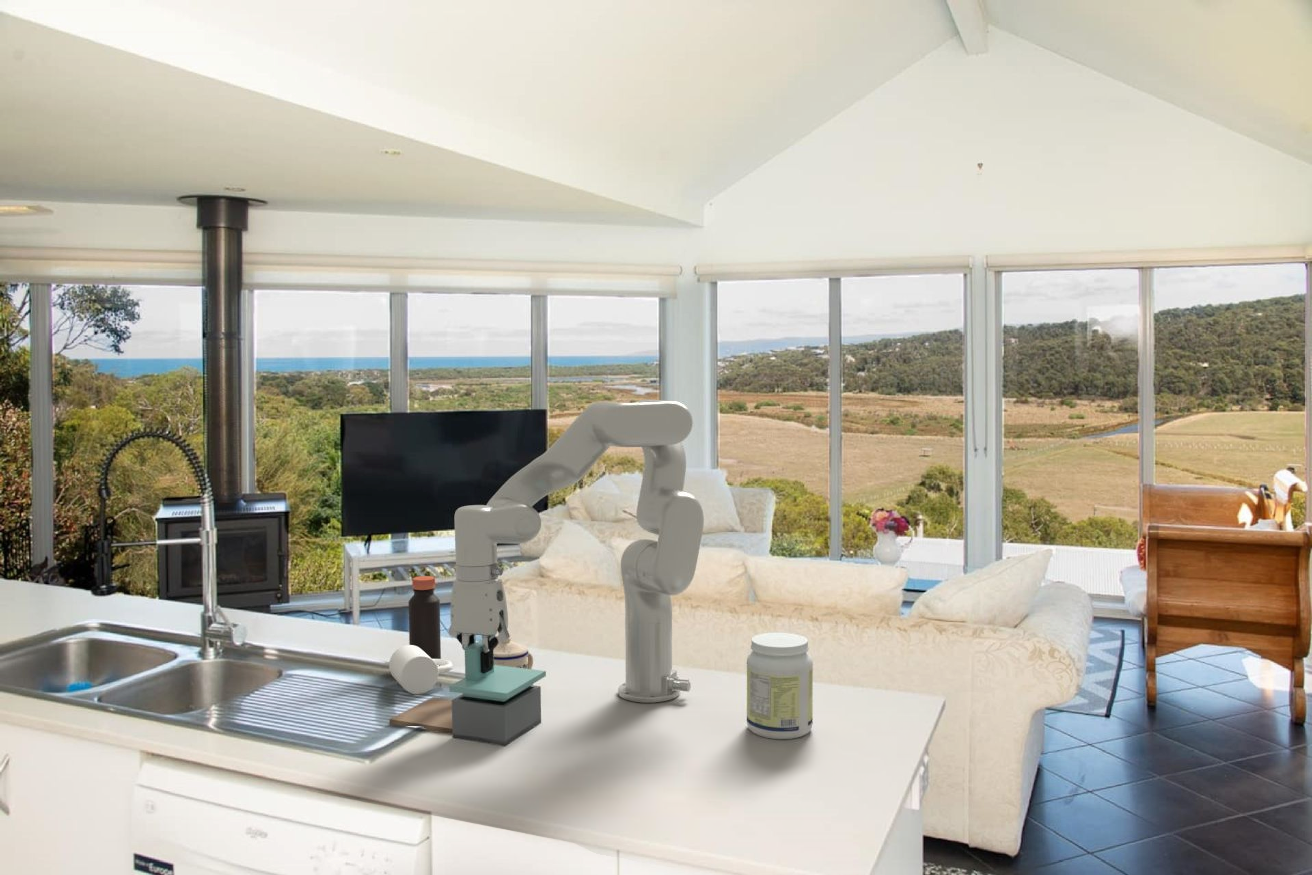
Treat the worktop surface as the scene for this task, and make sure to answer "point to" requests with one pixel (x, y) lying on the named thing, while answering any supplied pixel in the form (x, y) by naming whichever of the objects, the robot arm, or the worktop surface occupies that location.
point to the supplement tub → (779, 686)
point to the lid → (493, 678)
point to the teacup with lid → (512, 655)
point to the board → (428, 715)
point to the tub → (496, 717)
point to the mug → (416, 669)
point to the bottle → (425, 617)
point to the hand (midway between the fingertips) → (479, 669)
